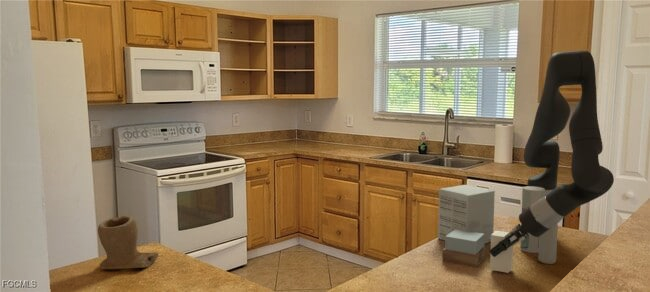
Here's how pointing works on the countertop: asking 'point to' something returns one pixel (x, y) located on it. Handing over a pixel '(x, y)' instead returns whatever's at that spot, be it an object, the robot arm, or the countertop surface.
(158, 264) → the countertop surface
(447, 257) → the walnut base block
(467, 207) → the supplement box
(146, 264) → the stone cup
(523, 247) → the spray can
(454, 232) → the slate-blue top block
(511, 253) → the cream block
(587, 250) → the countertop surface
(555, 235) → the beverage can
